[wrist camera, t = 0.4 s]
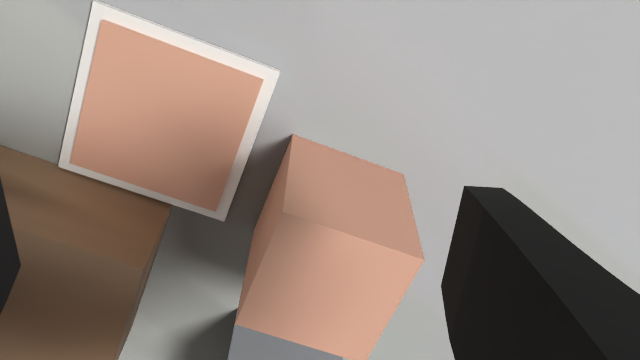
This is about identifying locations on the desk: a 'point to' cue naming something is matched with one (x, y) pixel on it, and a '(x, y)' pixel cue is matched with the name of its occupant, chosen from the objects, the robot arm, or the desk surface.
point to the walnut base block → (74, 261)
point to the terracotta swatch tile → (163, 112)
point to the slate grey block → (270, 347)
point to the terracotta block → (330, 252)
